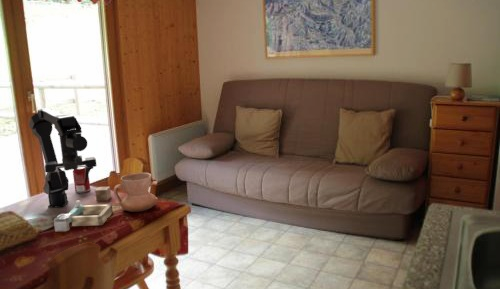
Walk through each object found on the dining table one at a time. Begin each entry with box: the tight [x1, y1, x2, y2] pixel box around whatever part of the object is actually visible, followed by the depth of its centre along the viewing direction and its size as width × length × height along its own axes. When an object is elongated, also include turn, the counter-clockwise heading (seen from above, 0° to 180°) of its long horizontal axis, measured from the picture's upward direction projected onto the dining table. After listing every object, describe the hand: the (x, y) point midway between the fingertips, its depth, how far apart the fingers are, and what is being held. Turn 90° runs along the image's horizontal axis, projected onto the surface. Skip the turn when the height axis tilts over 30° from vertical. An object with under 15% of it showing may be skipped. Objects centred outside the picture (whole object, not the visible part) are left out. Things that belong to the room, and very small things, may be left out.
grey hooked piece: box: [53, 212, 84, 232], centre depth 166 cm, size 5×20×5 cm, turn 0°
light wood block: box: [94, 186, 112, 202], centre depth 190 cm, size 5×5×5 cm
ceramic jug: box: [113, 172, 158, 213], centre depth 176 cm, size 18×14×14 cm
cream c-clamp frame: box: [71, 203, 114, 227], centre depth 167 cm, size 12×13×4 cm
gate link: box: [67, 199, 84, 224], centre depth 167 cm, size 17×4×5 cm, turn 0°
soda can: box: [72, 165, 91, 194], centre depth 201 cm, size 7×7×12 cm
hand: (73, 184), depth 170 cm, fingers open, 9 cm apart
